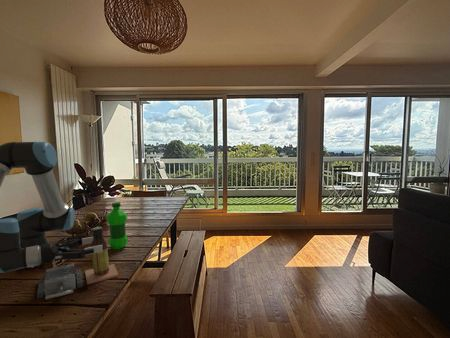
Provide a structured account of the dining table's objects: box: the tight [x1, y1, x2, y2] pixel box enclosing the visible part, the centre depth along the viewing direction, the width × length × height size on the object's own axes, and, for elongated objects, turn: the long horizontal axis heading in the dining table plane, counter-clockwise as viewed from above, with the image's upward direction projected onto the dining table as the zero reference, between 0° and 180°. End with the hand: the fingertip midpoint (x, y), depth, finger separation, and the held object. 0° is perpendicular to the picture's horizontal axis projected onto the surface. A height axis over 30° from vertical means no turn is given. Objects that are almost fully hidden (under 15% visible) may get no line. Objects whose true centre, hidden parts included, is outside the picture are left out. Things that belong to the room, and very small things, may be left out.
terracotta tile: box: [84, 263, 119, 285], centre depth 115 cm, size 12×12×1 cm
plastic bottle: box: [106, 201, 129, 250], centre depth 145 cm, size 10×10×25 cm
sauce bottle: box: [90, 226, 110, 275], centre depth 114 cm, size 7×6×20 cm
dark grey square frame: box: [36, 262, 84, 300], centre depth 104 cm, size 21×15×5 cm
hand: (100, 243), depth 114 cm, fingers open, 13 cm apart
